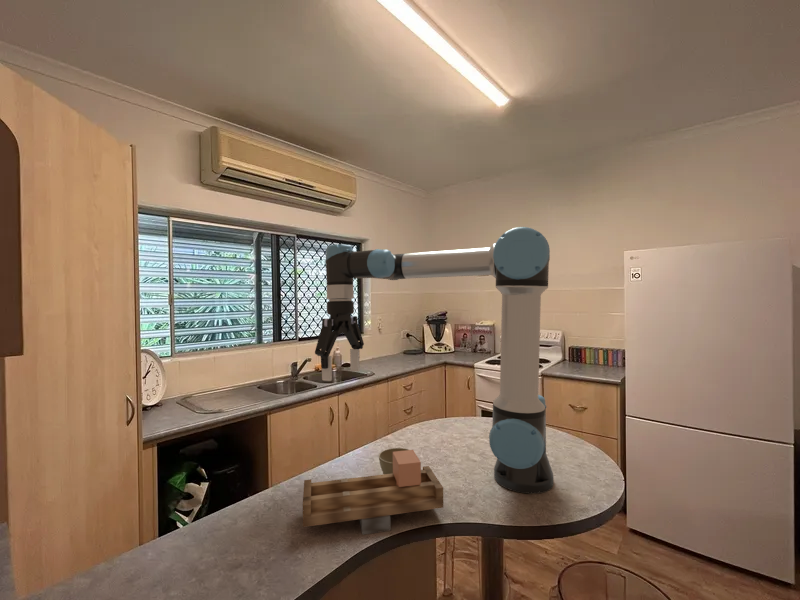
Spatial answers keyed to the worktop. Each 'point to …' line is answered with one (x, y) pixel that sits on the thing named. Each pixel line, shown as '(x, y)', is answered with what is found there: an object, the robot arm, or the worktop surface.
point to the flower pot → (388, 459)
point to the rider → (406, 468)
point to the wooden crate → (368, 500)
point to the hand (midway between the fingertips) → (341, 375)
